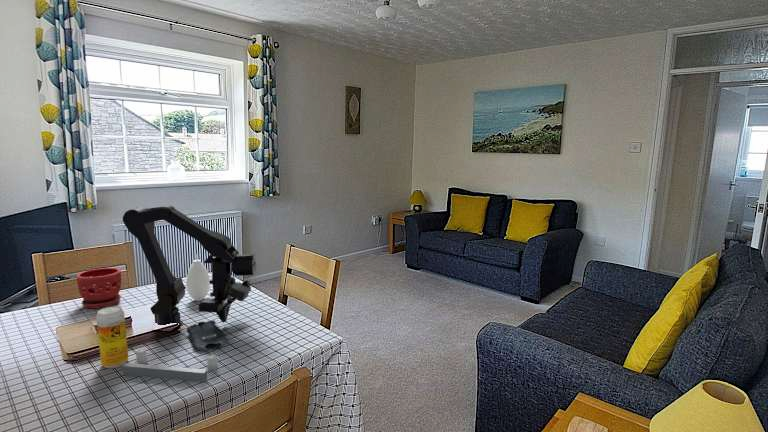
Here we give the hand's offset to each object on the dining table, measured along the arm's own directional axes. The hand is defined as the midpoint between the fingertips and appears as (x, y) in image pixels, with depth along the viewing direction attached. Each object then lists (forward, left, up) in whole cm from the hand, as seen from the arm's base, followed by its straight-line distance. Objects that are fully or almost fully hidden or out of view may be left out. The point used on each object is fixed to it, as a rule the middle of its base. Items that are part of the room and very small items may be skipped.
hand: (224, 321), depth 133 cm
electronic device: (0, -10, -2) cm, 10 cm away
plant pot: (-52, +10, -2) cm, 53 cm away
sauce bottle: (-20, +19, -2) cm, 28 cm away
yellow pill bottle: (-17, -26, -2) cm, 31 cm away
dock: (0, -27, -1) cm, 27 cm away
